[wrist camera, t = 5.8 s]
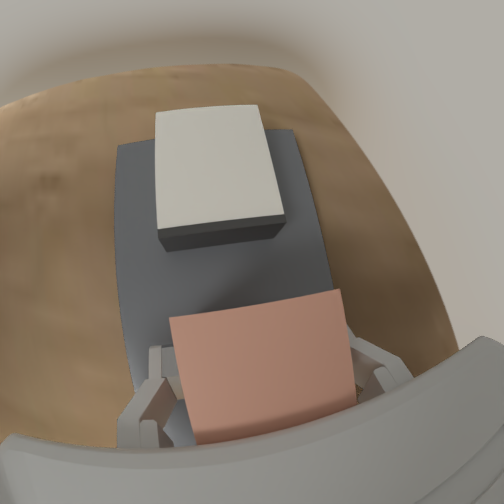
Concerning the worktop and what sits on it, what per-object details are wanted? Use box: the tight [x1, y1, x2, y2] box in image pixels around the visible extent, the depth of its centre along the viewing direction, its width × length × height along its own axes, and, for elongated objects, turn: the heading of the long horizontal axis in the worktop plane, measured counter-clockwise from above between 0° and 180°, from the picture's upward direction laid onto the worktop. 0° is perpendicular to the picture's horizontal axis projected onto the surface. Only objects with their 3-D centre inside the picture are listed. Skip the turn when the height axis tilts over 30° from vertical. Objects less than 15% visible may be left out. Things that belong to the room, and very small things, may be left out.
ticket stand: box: [114, 105, 334, 447], centre depth 16 cm, size 14×22×5 cm, turn 10°
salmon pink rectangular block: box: [169, 289, 357, 445], centre depth 11 cm, size 5×4×9 cm
